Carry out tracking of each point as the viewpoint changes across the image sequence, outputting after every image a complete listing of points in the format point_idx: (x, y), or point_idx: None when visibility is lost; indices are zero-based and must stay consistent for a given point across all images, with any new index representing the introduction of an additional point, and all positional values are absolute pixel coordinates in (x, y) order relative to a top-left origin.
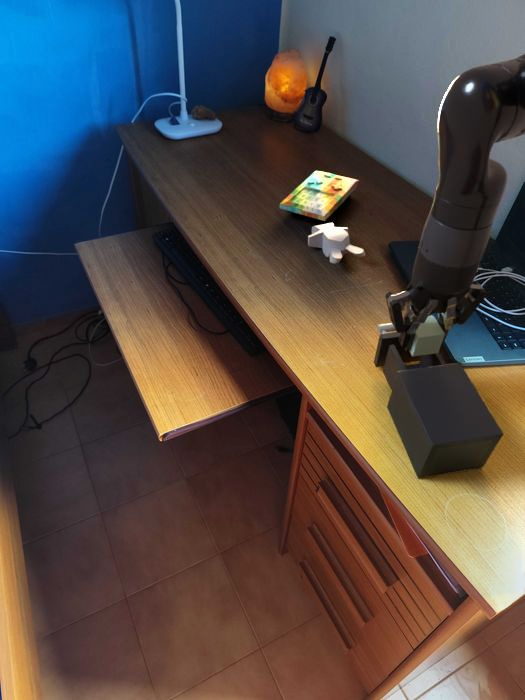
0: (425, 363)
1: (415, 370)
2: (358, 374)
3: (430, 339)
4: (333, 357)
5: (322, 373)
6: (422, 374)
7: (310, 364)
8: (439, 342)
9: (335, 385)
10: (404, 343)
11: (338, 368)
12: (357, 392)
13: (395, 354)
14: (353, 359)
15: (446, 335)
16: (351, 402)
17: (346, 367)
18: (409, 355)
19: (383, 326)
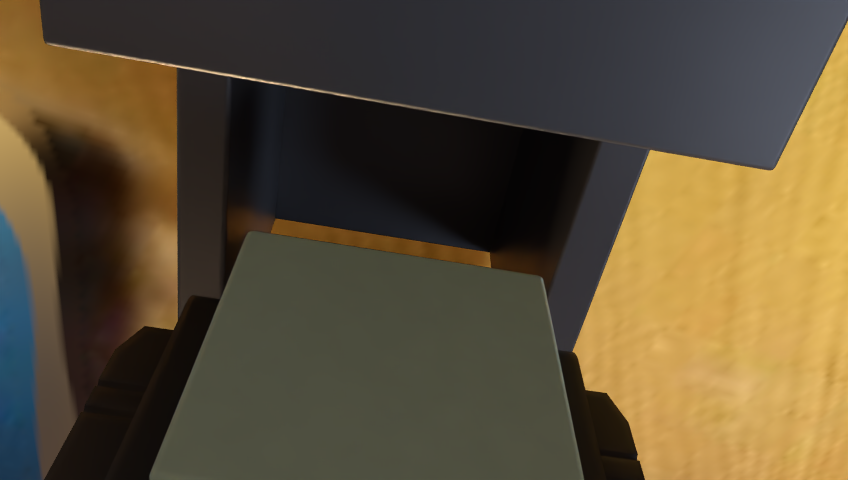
0: (266, 199)
1: (590, 117)
2: (625, 268)
3: (385, 439)
4: (672, 394)
5: (797, 332)
6: (561, 39)
7: (808, 393)
8: (240, 352)
9: (795, 246)
10: (615, 446)
11: (697, 333)
12: (719, 164)
13: (564, 336)
14: (584, 355)
15: (87, 406)
16: (804, 112)
17: (654, 325)
18: None
19: None
